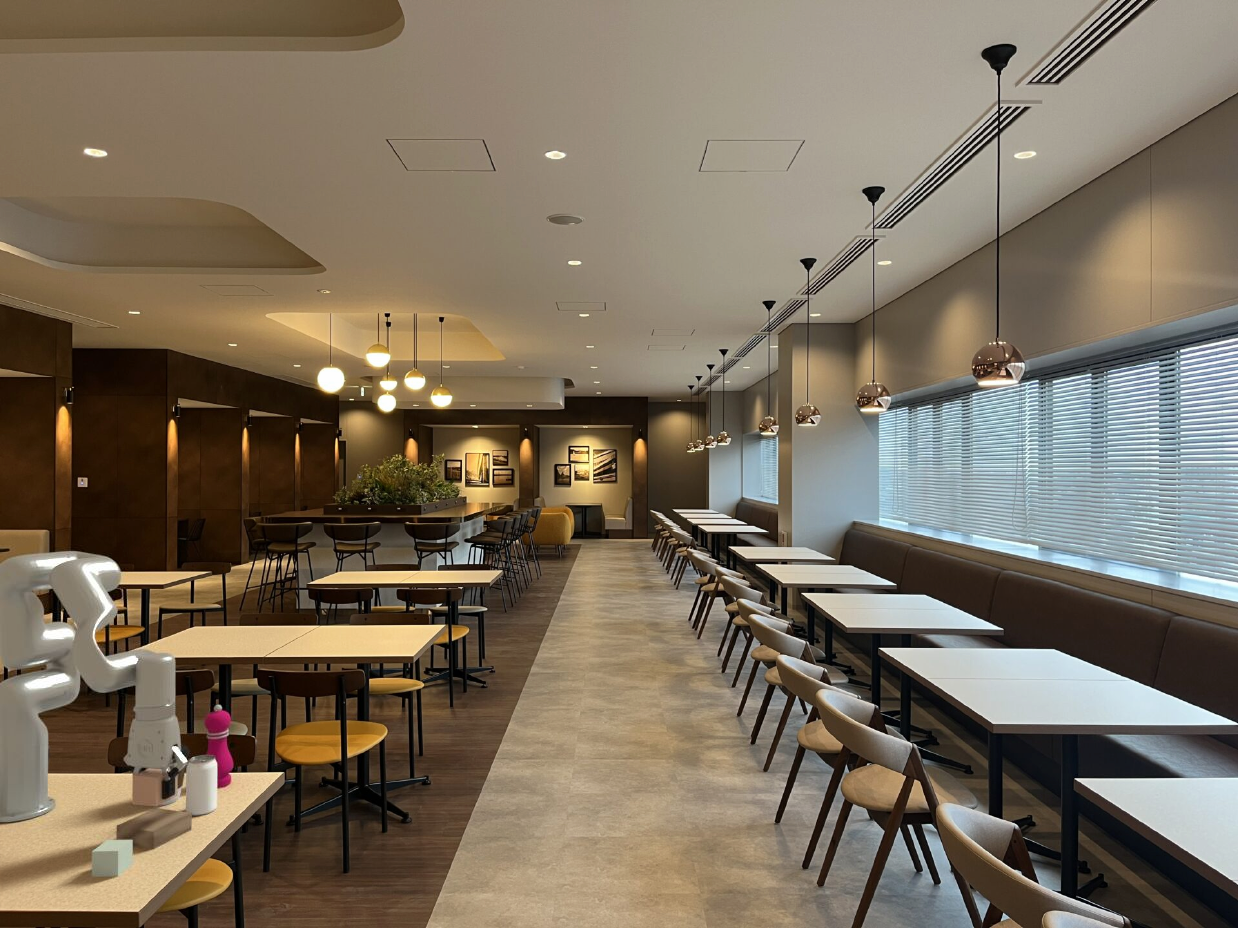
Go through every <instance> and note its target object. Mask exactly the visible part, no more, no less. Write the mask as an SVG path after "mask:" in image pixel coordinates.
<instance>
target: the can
mask: <svg viewBox="0 0 1238 928" xmlns="http://www.w3.org/2000/svg"><path fill="white" fill-rule="evenodd" d="M187 761H188V763H187V765H186V769H185V812H188V813H192V817H197V816H203V815H204V816H205V815H208V814H211V813H213V812H214V811H215V810H216V809H217V807H218V788H217V762H216V760H215V756H213V755H206V754H201V755H197V756H193V757H191V758H189V759H188V760H187Z"/></svg>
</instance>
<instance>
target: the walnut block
mask: <svg viewBox="0 0 1238 928" xmlns="http://www.w3.org/2000/svg"><path fill="white" fill-rule="evenodd" d="M192 817H193V816H192V813H188V812H186V811H180V810H173V809H168V808H166V809H165V808H159V807H155V808H152V809H150V810H148V811H146V812H143V813H142V814H140V815H137V816H134V817H133V818H131V819H128V820H126V821H125V822H122V823H120V824H119V823H118V824H117V825H116V838H115V840H133V847H136V848H137V847H138V848H141V849H142V848H143V849H149V850H156V849H158V848H159V847H161V846H163V845H164V844H167V843H168V842H169V843H170V841H172V840H174V839H176V838H178V837H180V836H182V835H184V834H187V833H188V832H190V831H192V830H193V829H192V827H193V824H192V820H193V818H192Z"/></svg>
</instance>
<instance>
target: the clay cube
mask: <svg viewBox="0 0 1238 928" xmlns="http://www.w3.org/2000/svg"><path fill="white" fill-rule="evenodd" d="M168 770H169V772H170V767H168ZM163 780H165V779H164V777H163V774H162V770H161V769H152V768H149V769H146V770H144V771H142V772H140V773H137V774H135V775H133V774H132V787H131V789H132V795H131V798H132V805H140V806H149V807H150V806H151V807H159V806H158V805H160V804H162V803H164V802H166V801H168V800H170V799H172V798H174V797H176V796H178V776H177V777H175V795H173V796H171V797H169V798H167V799H165V800H164V799H162V781H163Z"/></svg>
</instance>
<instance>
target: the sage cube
mask: <svg viewBox="0 0 1238 928" xmlns="http://www.w3.org/2000/svg"><path fill="white" fill-rule="evenodd" d="M133 847H134V846H133V840H116V839H107V840H105V841H104V842H102V843H101V844H100V845H99V846H97V847H96V848H95V849H93V850H92V851H91V878H102V877H103V878H106V877H107V878H108V877H110V878H111V877H113V878H116V877H120V876H121V875H122V874H123V873H124V872H125V871H127V870H128V869H129V868H130V867H131V866H133V853H134V852H133V850H134V849H133Z"/></svg>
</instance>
